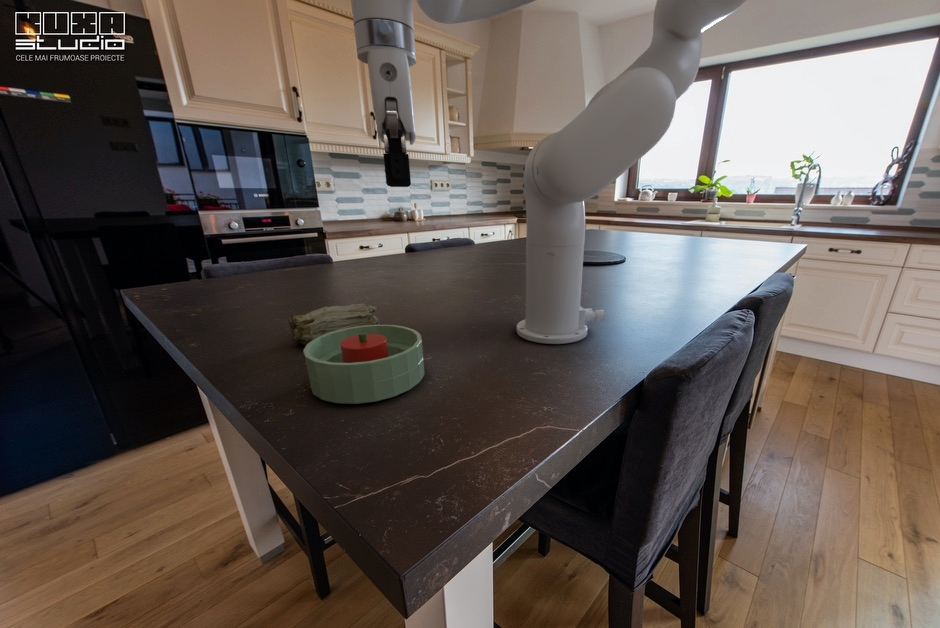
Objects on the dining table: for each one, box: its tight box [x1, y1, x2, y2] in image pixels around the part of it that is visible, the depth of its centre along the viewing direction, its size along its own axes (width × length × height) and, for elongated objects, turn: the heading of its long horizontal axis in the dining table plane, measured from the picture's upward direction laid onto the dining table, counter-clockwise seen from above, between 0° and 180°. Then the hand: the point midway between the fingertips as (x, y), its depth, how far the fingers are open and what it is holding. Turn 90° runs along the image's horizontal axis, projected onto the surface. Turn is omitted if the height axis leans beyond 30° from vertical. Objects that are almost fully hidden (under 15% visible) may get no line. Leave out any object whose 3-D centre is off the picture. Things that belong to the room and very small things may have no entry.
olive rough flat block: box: [288, 302, 381, 346], centre depth 67 cm, size 14×10×5 cm, turn 129°
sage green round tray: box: [302, 324, 426, 405], centre depth 52 cm, size 14×14×6 cm
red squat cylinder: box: [340, 332, 388, 363], centre depth 51 cm, size 6×6×6 cm
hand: (399, 186), depth 58 cm, fingers open, 9 cm apart
